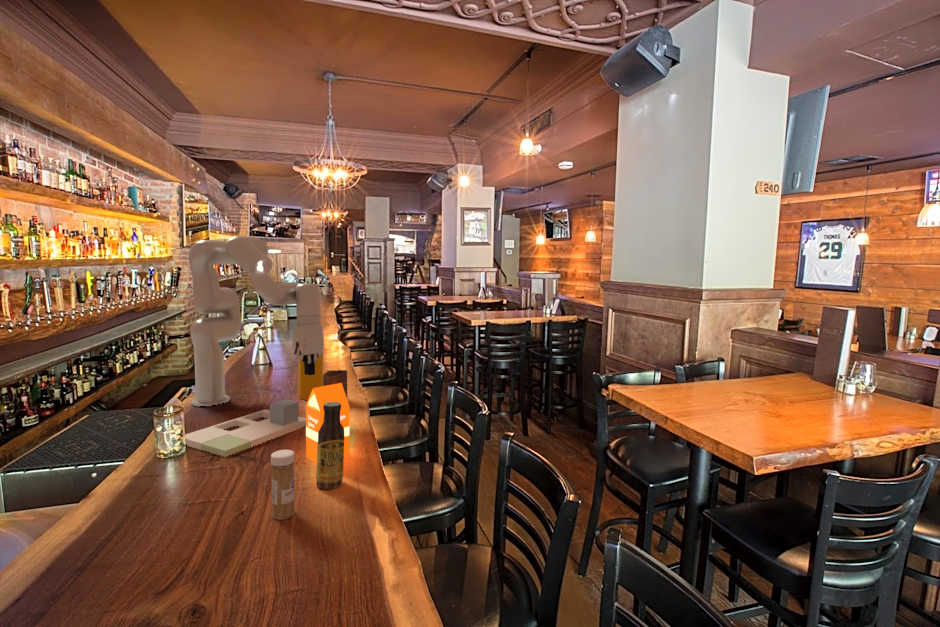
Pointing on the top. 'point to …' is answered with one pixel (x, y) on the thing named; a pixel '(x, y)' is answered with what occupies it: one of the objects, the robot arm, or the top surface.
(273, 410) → the block
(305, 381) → the beer bottle
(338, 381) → the brown piece
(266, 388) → the top surface
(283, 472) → the sprinkles bottle
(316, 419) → the orange juice
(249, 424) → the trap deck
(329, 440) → the sauce bottle
